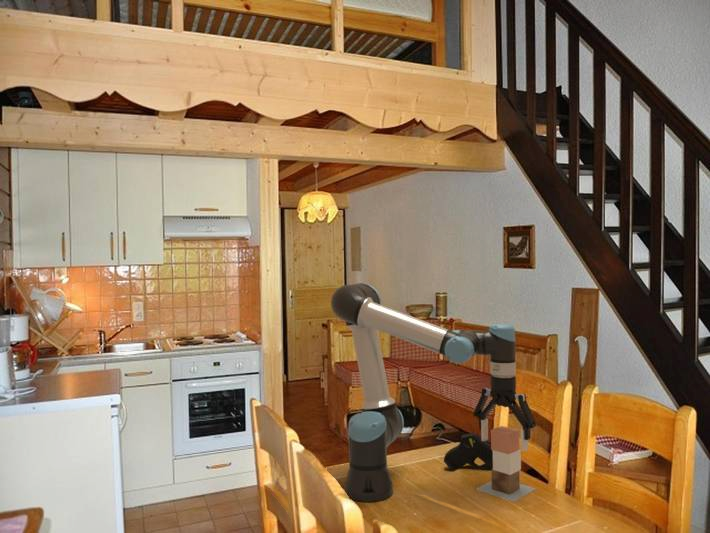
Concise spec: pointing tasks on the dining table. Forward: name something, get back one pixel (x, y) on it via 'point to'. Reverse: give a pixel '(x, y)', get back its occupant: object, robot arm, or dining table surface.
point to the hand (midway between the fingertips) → (504, 445)
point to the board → (512, 497)
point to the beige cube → (507, 462)
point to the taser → (470, 453)
